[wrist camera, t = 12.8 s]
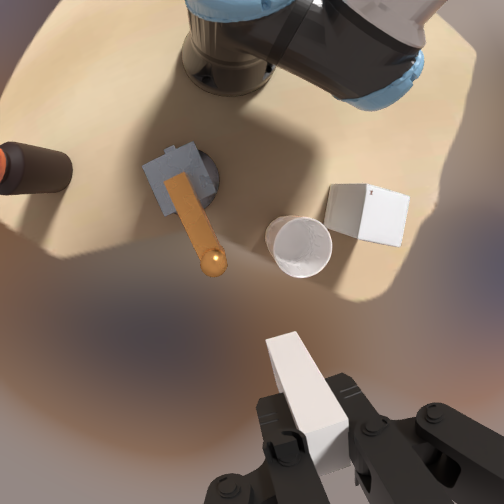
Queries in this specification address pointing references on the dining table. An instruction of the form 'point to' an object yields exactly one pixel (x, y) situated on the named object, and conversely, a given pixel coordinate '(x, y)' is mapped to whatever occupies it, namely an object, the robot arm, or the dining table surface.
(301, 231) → the white cup
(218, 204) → the dining table surface
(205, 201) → the dark grey cylinder
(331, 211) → the supplement box
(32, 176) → the bottle
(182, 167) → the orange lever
